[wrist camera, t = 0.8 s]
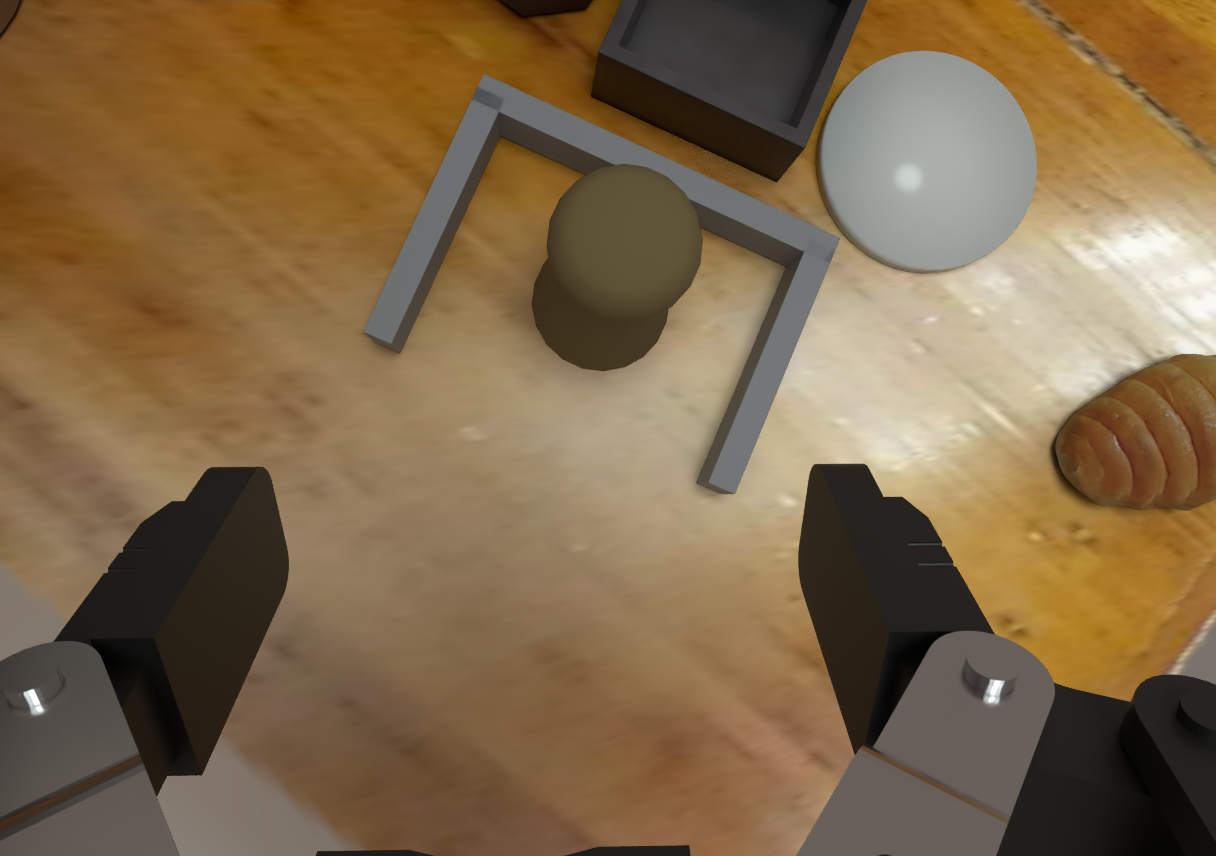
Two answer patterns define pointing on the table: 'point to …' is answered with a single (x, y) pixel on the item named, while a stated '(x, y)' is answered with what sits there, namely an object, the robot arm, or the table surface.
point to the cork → (615, 265)
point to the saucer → (926, 162)
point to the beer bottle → (545, 6)
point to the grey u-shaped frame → (586, 152)
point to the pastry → (1147, 438)
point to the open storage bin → (727, 71)
